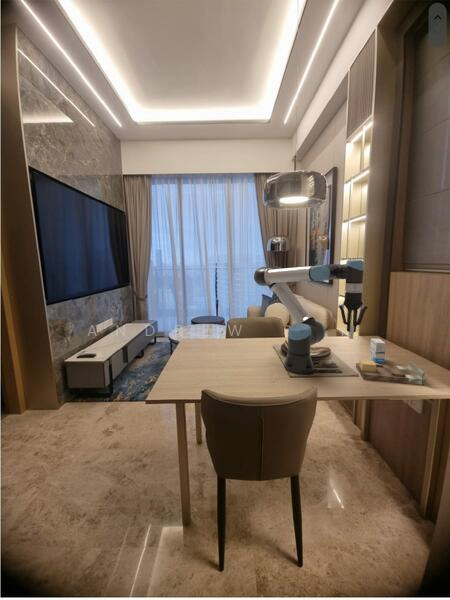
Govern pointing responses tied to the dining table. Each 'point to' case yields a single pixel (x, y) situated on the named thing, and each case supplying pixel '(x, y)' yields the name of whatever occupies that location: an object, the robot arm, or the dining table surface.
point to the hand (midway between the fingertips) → (350, 337)
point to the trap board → (394, 373)
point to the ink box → (377, 350)
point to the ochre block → (367, 365)
